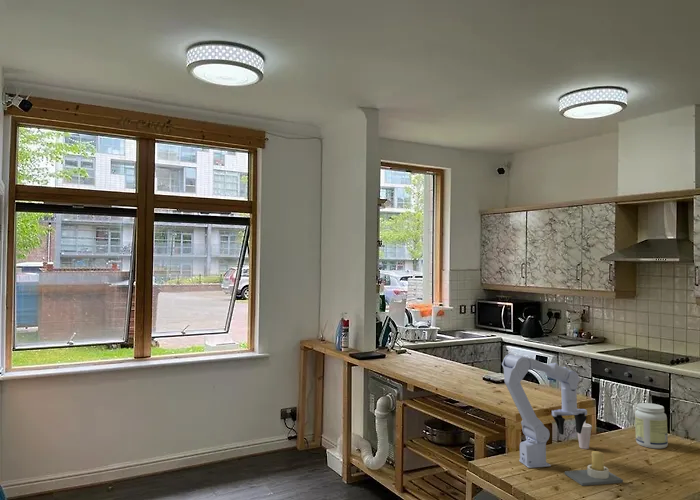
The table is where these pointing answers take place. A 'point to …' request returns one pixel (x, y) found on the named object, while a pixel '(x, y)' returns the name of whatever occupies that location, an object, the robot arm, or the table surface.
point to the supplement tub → (651, 426)
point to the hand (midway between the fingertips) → (569, 433)
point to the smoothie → (584, 436)
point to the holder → (593, 476)
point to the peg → (597, 461)
